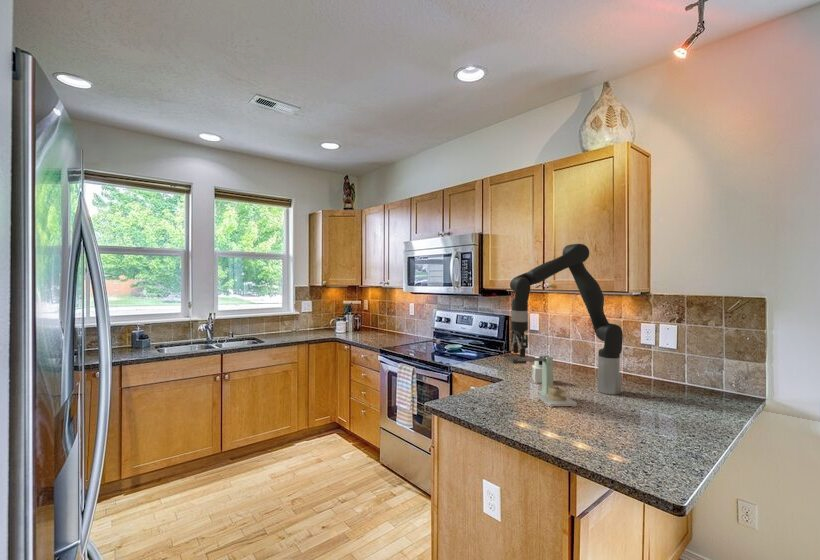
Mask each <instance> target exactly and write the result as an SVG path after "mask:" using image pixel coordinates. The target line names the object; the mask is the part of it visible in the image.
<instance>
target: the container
mask: <svg viewBox="0 0 820 560" xmlns="http://www.w3.org/2000/svg"><path fill="white" fill-rule="evenodd" d="M543 356H544V355H540V356H539V355H537V356H535V357H534V358H543ZM542 362H543V361H534V364H532V366H531V380H532V381H533V382H534V383H535V384H542Z"/></svg>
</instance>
